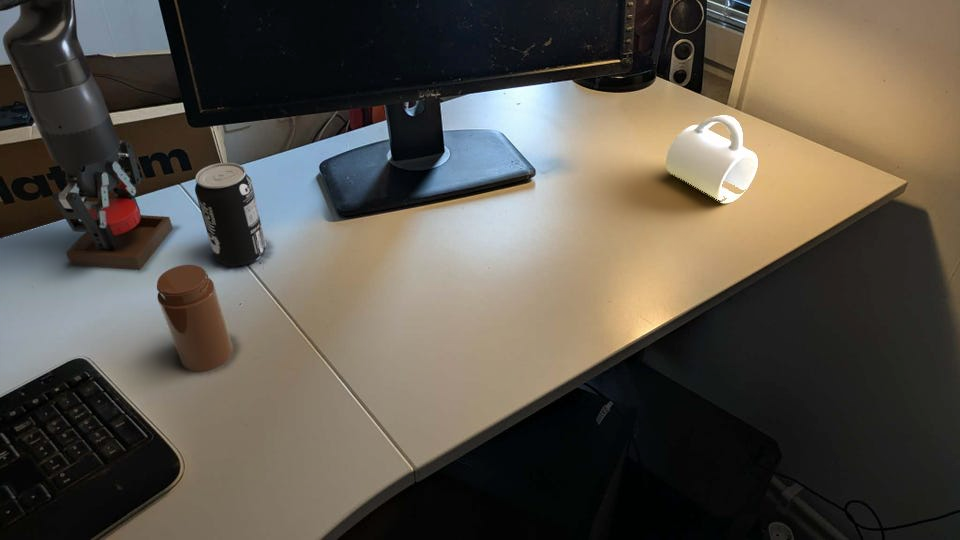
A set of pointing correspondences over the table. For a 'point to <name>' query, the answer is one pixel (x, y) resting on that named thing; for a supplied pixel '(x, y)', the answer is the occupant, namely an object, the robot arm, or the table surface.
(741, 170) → the mug
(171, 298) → the jar
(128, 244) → the tray
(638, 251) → the table surface
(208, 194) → the beverage can
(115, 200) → the jar lid
